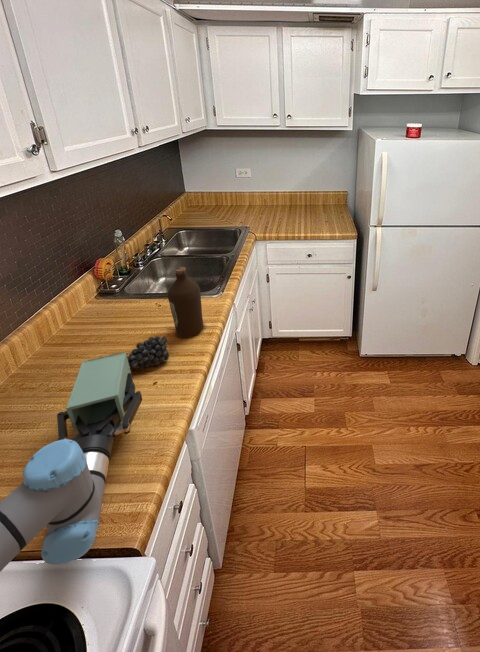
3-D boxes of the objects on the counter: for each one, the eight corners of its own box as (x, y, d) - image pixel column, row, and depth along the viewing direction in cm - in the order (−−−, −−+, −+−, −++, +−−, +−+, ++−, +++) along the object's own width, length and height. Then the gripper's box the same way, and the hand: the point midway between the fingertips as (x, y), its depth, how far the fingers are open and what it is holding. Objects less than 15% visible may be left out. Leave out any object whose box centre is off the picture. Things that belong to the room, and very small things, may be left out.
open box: (127, 431, 81) (117, 394, 76) (79, 445, 77) (65, 408, 73) (134, 385, 94) (125, 351, 89) (92, 395, 90) (82, 361, 86)
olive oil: (202, 317, 128) (194, 259, 119) (207, 333, 119) (199, 272, 110) (173, 325, 123) (162, 265, 114) (175, 342, 115) (164, 279, 105)
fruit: (113, 354, 96) (168, 336, 103) (115, 345, 104) (166, 329, 111) (120, 381, 97) (174, 362, 104) (121, 370, 105) (172, 353, 112)
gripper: (25, 497, 65) (59, 406, 84) (152, 455, 73) (156, 381, 92) (13, 472, 62) (51, 384, 81) (146, 432, 70) (152, 360, 89)
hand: (107, 382), depth 87 cm, fingers closed on open box, 10 cm apart
